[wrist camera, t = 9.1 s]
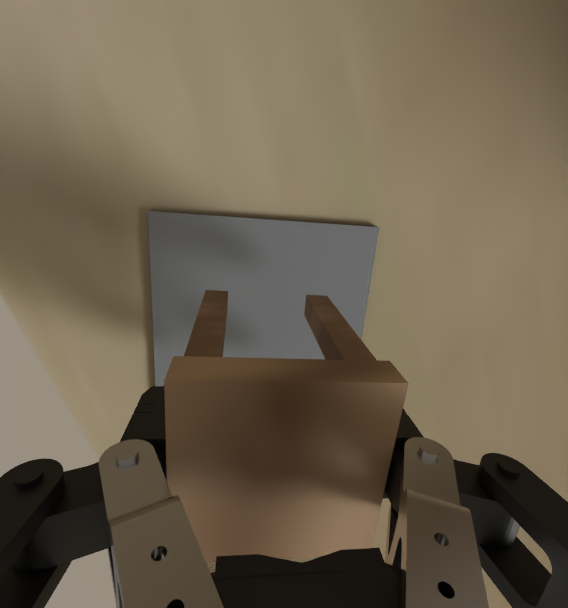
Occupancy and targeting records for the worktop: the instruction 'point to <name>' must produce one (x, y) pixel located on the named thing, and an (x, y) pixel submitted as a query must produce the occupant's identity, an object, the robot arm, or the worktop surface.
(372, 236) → the mat
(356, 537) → the stool
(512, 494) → the robot arm
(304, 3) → the worktop surface
